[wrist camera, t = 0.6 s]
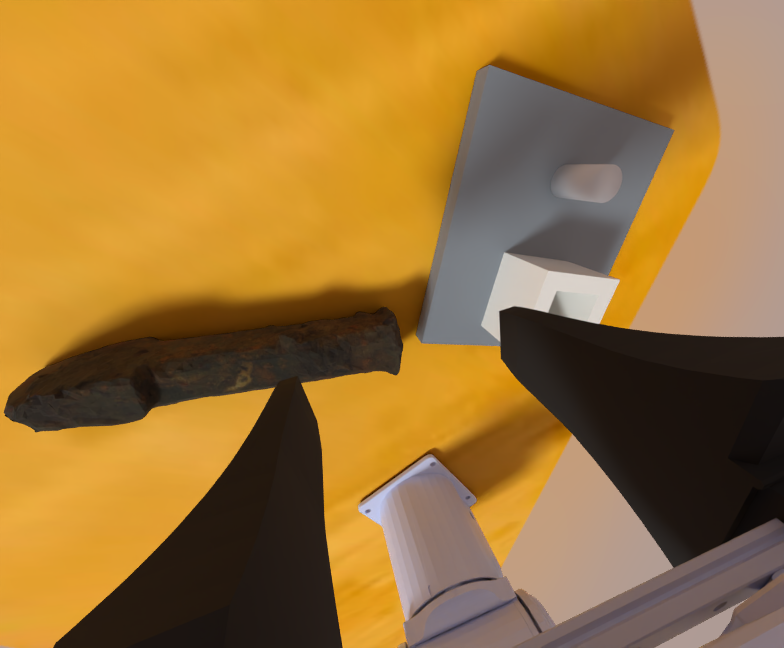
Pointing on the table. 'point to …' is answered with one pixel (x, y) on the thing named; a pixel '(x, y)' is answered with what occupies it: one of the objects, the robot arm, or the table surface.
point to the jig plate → (533, 194)
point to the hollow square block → (548, 290)
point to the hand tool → (200, 369)
